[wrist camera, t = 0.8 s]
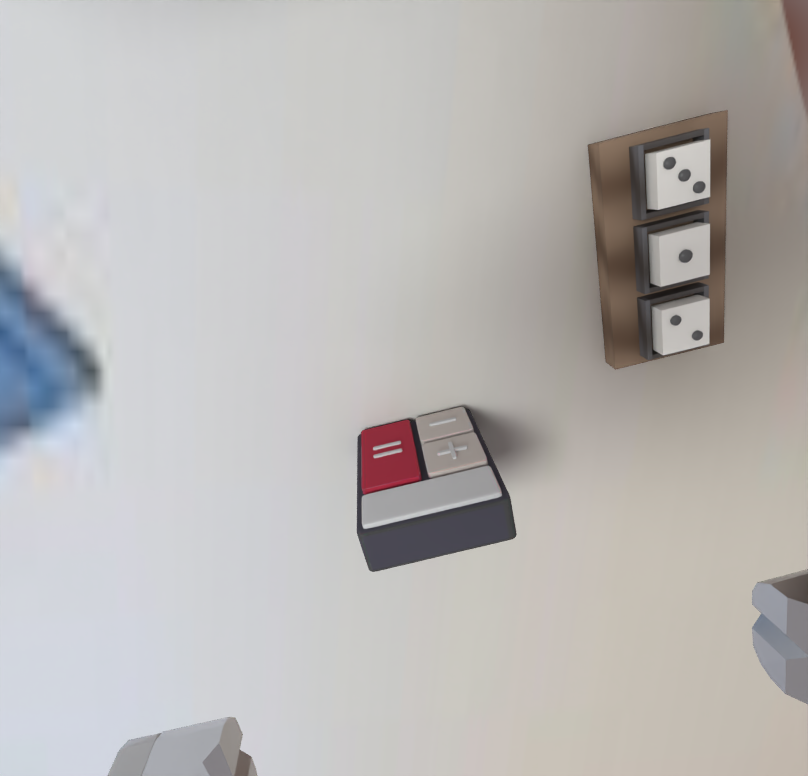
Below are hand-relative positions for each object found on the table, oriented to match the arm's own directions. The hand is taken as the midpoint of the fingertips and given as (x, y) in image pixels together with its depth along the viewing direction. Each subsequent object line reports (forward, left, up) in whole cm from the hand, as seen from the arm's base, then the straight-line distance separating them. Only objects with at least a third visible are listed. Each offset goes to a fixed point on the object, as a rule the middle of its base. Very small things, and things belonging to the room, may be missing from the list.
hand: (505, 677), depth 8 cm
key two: (+10, +23, -35) cm, 43 cm away
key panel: (+4, +23, -38) cm, 45 cm away
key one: (+4, +23, -35) cm, 42 cm away
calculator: (+16, -1, -39) cm, 42 cm away
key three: (-2, +23, -35) cm, 42 cm away
